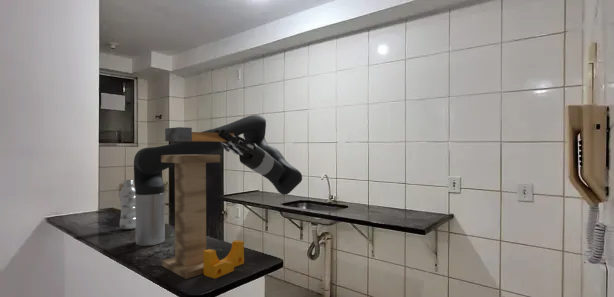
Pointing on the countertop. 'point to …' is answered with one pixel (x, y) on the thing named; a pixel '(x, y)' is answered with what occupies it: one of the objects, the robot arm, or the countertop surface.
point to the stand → (189, 213)
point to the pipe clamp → (223, 260)
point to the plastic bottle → (128, 205)
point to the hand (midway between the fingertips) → (217, 132)
